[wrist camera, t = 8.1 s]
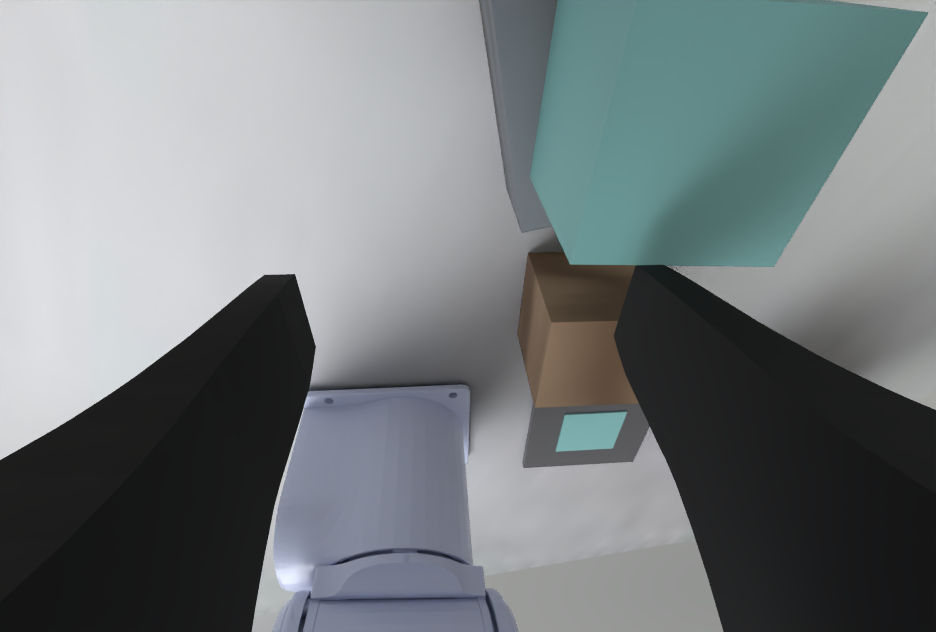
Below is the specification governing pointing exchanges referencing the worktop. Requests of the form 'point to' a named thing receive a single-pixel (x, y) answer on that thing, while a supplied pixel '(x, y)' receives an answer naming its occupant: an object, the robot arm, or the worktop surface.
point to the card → (584, 435)
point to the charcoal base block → (519, 92)
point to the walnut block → (573, 331)
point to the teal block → (702, 122)
